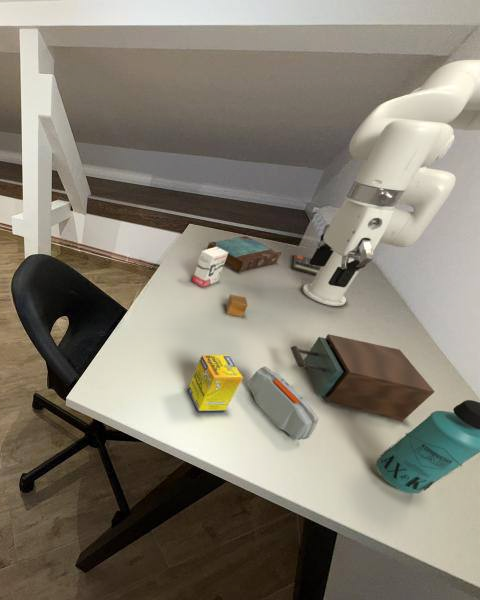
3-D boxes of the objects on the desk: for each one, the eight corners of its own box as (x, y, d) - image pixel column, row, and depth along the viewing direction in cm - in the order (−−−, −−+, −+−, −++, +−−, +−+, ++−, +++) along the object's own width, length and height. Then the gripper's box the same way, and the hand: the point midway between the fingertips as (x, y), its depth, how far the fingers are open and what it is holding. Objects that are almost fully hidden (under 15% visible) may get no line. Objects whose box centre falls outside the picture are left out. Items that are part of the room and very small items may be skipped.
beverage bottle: (367, 454, 58) (446, 383, 47) (413, 476, 56) (508, 406, 44) (370, 483, 54) (458, 412, 43) (420, 509, 51) (528, 440, 40)
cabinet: (325, 402, 68) (350, 371, 63) (308, 362, 78) (328, 334, 73) (402, 421, 65) (435, 391, 60) (374, 378, 76) (399, 349, 70)
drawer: (291, 388, 70) (308, 363, 65) (279, 354, 79) (293, 331, 75) (388, 412, 66) (413, 388, 62) (364, 374, 75) (384, 351, 71)
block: (225, 305, 98) (230, 294, 95) (240, 308, 97) (245, 297, 94) (226, 313, 94) (231, 301, 92) (242, 316, 93) (247, 305, 91)
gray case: (305, 443, 59) (327, 418, 55) (293, 447, 59) (314, 421, 54) (251, 385, 71) (266, 360, 66) (241, 387, 70) (255, 362, 65)
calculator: (326, 262, 129) (327, 276, 118) (325, 264, 129) (326, 278, 119) (295, 253, 134) (293, 266, 123) (294, 255, 134) (292, 268, 123)
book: (238, 273, 117) (243, 261, 114) (204, 253, 130) (207, 242, 127) (276, 263, 126) (281, 252, 124) (240, 246, 139) (244, 235, 136)
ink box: (202, 287, 106) (213, 256, 99) (191, 281, 109) (200, 250, 103) (218, 282, 110) (229, 251, 103) (206, 275, 113) (216, 246, 107)
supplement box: (186, 390, 68) (201, 354, 62) (212, 389, 69) (229, 354, 63) (197, 413, 63) (213, 377, 57) (224, 413, 64) (244, 376, 58)
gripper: (427, 212, 51) (366, 298, 60) (369, 188, 65) (326, 261, 75) (377, 205, 52) (324, 291, 61) (330, 183, 66) (293, 256, 76)
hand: (325, 274), depth 68 cm, fingers open, 9 cm apart
